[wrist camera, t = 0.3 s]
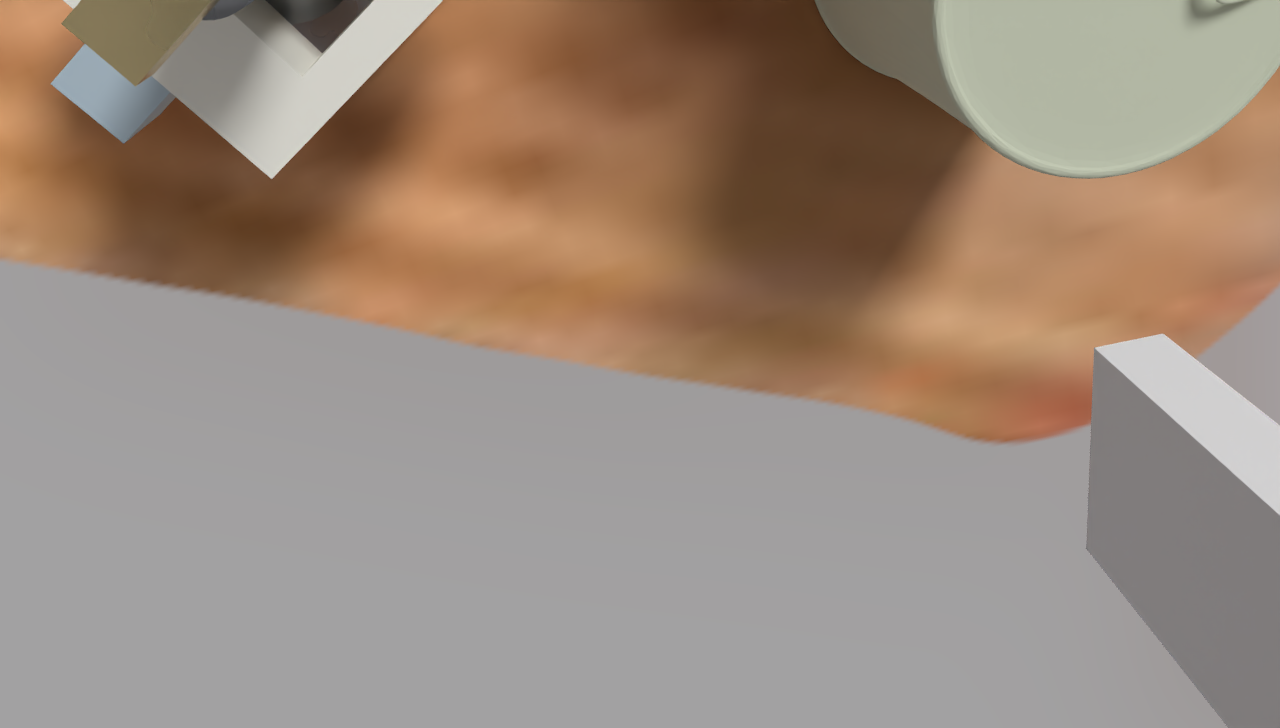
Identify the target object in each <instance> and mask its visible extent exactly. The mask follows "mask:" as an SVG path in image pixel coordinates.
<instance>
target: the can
mask: <svg viewBox="0 0 1280 728" xmlns="http://www.w3.org/2000/svg"><path fill="white" fill-rule="evenodd" d="M815 3H816V6H817V8H818V10H819V13H820V15H821V17H822V19H823V21H824V22H825V24H826V26H827V27H828V29H829V30H830V32H831V33H832V34H833V36H834V37H835V38H836V40H837V41H838V42H839V43H840V44H841V45H842V46H843V47H844V49H845V50H847V51H848V52H849V53H850V54H851V55H852V56H853V57H855V58H856V59H857V60H859V61H860V62H861V63H863V64H864V65H866V66H868V67H870V68H871V69H873V70H875V71H877V72H879V73H882V74H884V75H886V76H889V77H892V78H896V79H898V80H899V81H901V82H903V83H904V84H906V85H907V86H909V87H910V88H912V89H913V90H915V91H916V92H918V93H919V94H921V95H922V96H924V97H925V98H927V99H928V100H930V101H931V102H933V103H934V104H936V105H937V106H939V107H940V108H942V109H943V110H945V111H946V112H947V113H949V114H950V115H952V116H953V117H954V118H956V119H957V120H959V121H960V122H962V123H963V124H964V125H966V126H967V127H969V128H970V129H972V130H973V131H974V132H975V133H976V134H977V135H978V136H979V137H980V138H981V139H982V140H983V141H984V142H985V143H986V144H987V145H989V146H990V147H991V148H992V149H994V150H995V151H996V152H998V153H999V154H1001V155H1002V156H1004V157H1006V158H1008V159H1010V160H1012V161H1013V162H1015V163H1017V164H1019V165H1021V166H1024V167H1026V168H1029V169H1032V170H1035V171H1038V172H1041V173H1045V174H1049V175H1054V176H1060V177H1069V178H1087V179H1090V178H1105V177H1112V176H1118V175H1124V174H1128V173H1132V172H1136V171H1140V170H1143V169H1146V168H1149V167H1152V166H1155V165H1157V164H1160V163H1162V162H1165V161H1167V160H1169V159H1172V158H1174V157H1175V156H1177V155H1179V154H1181V153H1183V152H1185V151H1187V150H1189V149H1191V148H1192V147H1194V146H1196V145H1197V144H1199V143H1200V142H1202V141H1203V140H1205V139H1206V138H1208V137H1209V136H1211V135H1212V134H1214V133H1215V132H1216V131H1218V130H1219V129H1220V128H1222V127H1223V126H1224V125H1225V124H1226V123H1227V122H1229V121H1230V120H1231V119H1232V118H1233V117H1235V116H1236V115H1237V114H1238V113H1239V112H1240V111H1241V110H1242V109H1243V108H1244V107H1245V106H1246V105H1247V104H1248V103H1249V102H1250V101H1251V100H1252V99H1253V98H1254V97H1255V96H1256V95H1257V94H1258V92H1259V91H1260V90H1261V89H1262V87H1263V86H1264V85H1265V84H1266V83H1267V81H1268V80H1269V79H1270V78H1271V76H1272V75H1273V74H1274V73H1275V72H1276V70H1277V69H1278V67H1279V66H1280V0H815Z"/></svg>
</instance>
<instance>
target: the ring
mask: <svg viewBox="0 0 1280 728" xmlns="http://www.w3.org/2000/svg"><path fill="white" fill-rule="evenodd" d="M63 1H65V2H66V3H67V4H68V5H69V6H70V7H72V8H73V9H74V8H75V7H76V6H77V5H78V3H79V2H80V1H81V0H63ZM442 1H443V0H372V1H371V2H370V3H369V4H368V5H367V6H366V7H365V8H364V9H363V11H362V12H361V13H360V14H359V15H358V16H357V17H356V18H355V19H354V20H353V21H352V22H351V23H350V24H349V25H348V27H347V28H346V29H345V30H344V31H343V32H342V33H341V34H340V35H339V36H338V37H337V38H336V39H335V40H334V41H333V43H332V44H331V45H330V46H329V47H328V48H327V49H326V50H325V51H324V52H323V53H321V52H320V51H319V50H318V49H317V48H316V47H315V46H314V45H313V44H312V43H311V42H310V41H308V40H307V39H306V38H305V37H304V36H303V35H302V34H301V33H300V32H299V31H298V30H297V29H296V28H295V27H294V26H292V25H291V24H290V23H289V22H288V21H287V20H286V19H285V18H284V17H283V16H282V15H281V14H280V13H279V12H278V11H276V10H275V9H274V8H273V7H272V6H271V5H270V4H269V3H268V2H267V1H266V0H254V1H253V2H251V3H250V4H248V5H247V6H245V7H244V8H242V9H241V10H239V11H238V12H236V13H234V14H232V15H230V16H228V17H225V18H222V19H217V20H202V21H201V22H200V23H199V24H198V25H197V26H196V27H195V28H194V30H193V31H192V32H191V33H190V34H189V35H188V36H187V37H186V39H185V40H184V41H183V42H182V43H181V44H180V45H179V46H178V48H177V49H176V50H175V51H174V52H173V53H172V54H171V55H170V57H169V58H168V59H167V60H166V61H165V62H164V63H163V64H162V66H161V67H160V68H159V69H158V70H157V71H156V72H155V73H154V74H153V75H152V76H150V77H149V78H147V79H146V80H144V81H143V82H141V83H140V84H138V85H137V86H136V87H135V86H134V85H133V84H132V83H131V82H130V81H128V80H127V79H126V78H125V77H124V76H122V75H121V74H120V73H119V72H118V71H117V70H115V69H114V68H113V67H112V66H111V65H109V64H108V63H107V62H106V61H105V60H104V59H102V58H101V57H100V56H99V55H98V54H96V53H95V52H94V51H93V50H92V49H91V48H89V47H88V46H87V45H86V44H84V45H83V47H82V48H81V49H80V50H79V51H78V52H77V54H76V55H75V56H74V57H73V58H72V59H71V61H70V62H69V63H68V64H67V65H66V66H65V68H64V69H63V70H62V71H61V72H60V73H59V75H58V76H57V77H56V78H55V79H54V80H53V82H52V83H51V85H53V86H54V87H55V88H56V89H58V90H59V91H60V92H61V93H62V94H64V95H65V96H66V97H67V98H69V99H70V100H71V101H72V102H73V103H75V104H76V105H77V106H78V107H80V108H81V109H82V110H83V111H84V112H86V113H87V114H88V115H89V116H91V117H92V118H93V119H94V120H95V121H97V122H98V123H99V124H100V125H102V126H103V127H104V128H105V129H106V130H108V131H109V132H110V133H111V134H113V135H114V136H115V137H116V138H117V139H119V140H120V141H121V142H122V143H125V142H127V141H128V140H129V139H130V138H132V137H133V136H134V135H135V134H137V133H138V132H139V131H140V130H141V129H143V128H144V127H145V126H146V125H148V124H149V123H150V122H151V121H153V120H154V119H155V118H156V117H158V116H159V115H160V114H161V113H162V112H163V111H164V110H165V109H166V107H167V106H168V105H169V104H170V103H171V102H172V101H173V100H174V99H175V97H176V98H178V99H179V100H180V101H181V102H182V103H183V104H185V105H186V106H187V107H188V108H189V109H190V110H192V111H193V112H194V113H195V114H196V115H197V116H199V117H200V118H201V119H202V120H203V121H204V122H206V123H207V124H208V125H209V126H210V127H211V128H213V129H214V130H215V131H216V132H217V133H218V134H220V135H221V136H222V137H223V138H224V139H225V140H227V141H228V142H229V143H230V144H231V145H232V146H234V147H235V148H236V149H237V150H238V151H239V152H241V153H242V154H243V155H244V156H245V157H246V158H248V159H249V160H250V161H251V162H252V163H253V164H255V165H256V166H257V167H258V168H259V169H260V170H262V171H263V172H264V173H265V174H266V175H267V176H269V177H270V178H271V179H272V178H273V177H274V176H275V175H276V174H277V173H278V172H279V171H280V170H281V169H282V168H283V167H284V166H285V165H286V164H287V163H288V162H289V161H290V159H291V158H292V157H293V156H294V155H295V154H296V153H297V152H298V151H299V150H300V149H301V148H302V147H303V146H304V145H305V144H306V143H307V142H308V141H309V140H310V139H311V138H312V137H313V135H314V134H315V133H316V132H317V131H318V130H319V129H320V128H321V127H322V126H323V125H324V124H325V123H326V122H327V121H328V120H329V119H330V118H331V117H332V116H333V115H334V114H335V113H336V111H337V110H338V109H339V108H340V107H341V106H342V105H343V104H344V103H345V102H346V101H347V100H348V99H349V98H350V97H351V96H352V95H353V94H354V93H355V92H356V91H357V90H358V89H359V87H360V86H361V85H362V84H363V83H364V82H365V81H366V80H367V79H368V78H369V77H370V76H371V75H372V74H373V73H374V72H375V71H376V70H377V69H378V68H379V67H380V66H381V65H382V63H383V62H384V61H385V60H386V59H387V58H388V57H389V56H390V55H391V54H392V53H393V52H394V51H395V50H396V49H397V48H398V47H399V46H400V45H401V44H402V43H403V42H404V41H405V39H406V38H407V37H408V36H409V35H410V34H411V33H412V32H413V31H414V30H415V29H416V28H417V27H418V26H419V25H420V24H421V23H422V22H423V21H424V20H425V19H426V18H427V17H428V15H429V14H430V13H431V12H432V11H433V10H434V9H435V8H436V7H437V6H438V5H439V4H440V3H441V2H442Z"/></svg>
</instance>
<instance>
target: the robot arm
mask: <svg viewBox="0 0 1280 728" xmlns="http://www.w3.org/2000/svg"><path fill="white" fill-rule="evenodd" d="M1086 549H1087V550H1088V551H1089V553H1090V554H1091V555H1092V556H1093V558H1094V559H1095V560H1096V561H1097V563H1098V564H1099V565H1100V566H1101V568H1102V569H1103V570H1104V571H1105V573H1106V574H1107V575H1108V577H1109V578H1110V579H1111V580H1112V582H1113V583H1114V584H1115V585H1116V587H1117V588H1118V589H1119V590H1120V592H1121V593H1122V594H1123V595H1124V597H1125V598H1126V599H1127V601H1128V602H1129V603H1130V604H1131V606H1132V607H1133V608H1134V609H1135V610H1136V612H1137V613H1138V614H1139V616H1140V617H1141V618H1142V619H1143V621H1144V622H1145V623H1146V625H1147V626H1148V627H1149V628H1150V629H1151V631H1152V632H1153V633H1154V635H1155V636H1156V637H1157V638H1158V640H1159V641H1160V642H1161V643H1162V645H1163V646H1164V647H1165V648H1166V650H1167V651H1168V652H1169V654H1170V655H1171V656H1172V657H1173V659H1174V660H1175V661H1176V662H1177V664H1178V665H1179V666H1180V667H1181V669H1182V670H1183V671H1184V672H1185V674H1186V675H1187V676H1188V677H1189V679H1190V680H1191V681H1192V683H1193V684H1194V685H1195V686H1196V688H1197V689H1198V690H1199V691H1200V693H1201V694H1202V695H1203V696H1204V698H1205V699H1206V700H1207V701H1208V703H1209V704H1210V705H1211V706H1212V708H1213V709H1214V710H1215V711H1216V713H1217V714H1218V715H1219V716H1220V718H1221V719H1222V720H1223V722H1224V723H1225V724H1226V725H1227V727H1228V728H1280V425H1278V424H1277V423H1276V422H1275V421H1273V420H1272V419H1271V418H1270V417H1268V416H1267V415H1266V414H1264V413H1263V412H1262V411H1261V410H1259V409H1258V408H1257V407H1255V406H1254V405H1253V404H1252V403H1250V402H1249V401H1248V400H1247V399H1245V398H1244V397H1243V396H1242V395H1240V394H1239V393H1238V392H1236V391H1235V390H1234V389H1233V388H1231V387H1230V386H1229V385H1227V384H1226V383H1225V382H1224V381H1222V380H1221V379H1220V378H1219V377H1217V376H1216V375H1215V374H1214V373H1212V372H1211V371H1210V370H1209V369H1207V368H1206V367H1205V366H1203V365H1202V364H1201V363H1200V362H1198V361H1197V360H1196V359H1195V358H1193V357H1192V356H1191V355H1189V354H1188V353H1187V352H1186V351H1184V350H1183V349H1182V348H1181V347H1179V346H1178V345H1177V344H1176V343H1174V342H1173V341H1172V340H1170V339H1169V338H1168V337H1167V336H1165V335H1164V334H1159V335H1154V336H1150V337H1145V338H1140V339H1135V340H1130V341H1125V342H1120V343H1115V344H1111V345H1106V346H1101V347H1096V348H1094V367H1093V392H1092V417H1091V445H1090V469H1089V493H1088V519H1087V544H1086Z"/></svg>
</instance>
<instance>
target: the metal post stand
mask: <svg viewBox="0 0 1280 728" xmlns="http://www.w3.org/2000/svg"><path fill="white" fill-rule="evenodd" d="M253 1H254V0H81V1H80V2H79V3H78V5H77V6H76V7H75V8H74V9H73V10H72V12H71V13H70V14H69V15H68V16H67V18H66V19H65V20H64V21H63V22H62V23H61V24H62V25H63V26H65V27H66V28H67V29H68V30H69V31H70V32H72V33H73V34H74V35H75V36H76V37H78V38H79V39H80V40H81V41H82V42H83V43H85V44H86V45H87V46H88V47H89V48H91V49H92V50H93V51H94V52H95V53H96V54H98V55H99V56H100V57H101V58H102V59H104V60H105V61H106V62H107V63H108V64H109V65H111V66H112V67H113V68H114V69H115V70H117V71H118V72H119V73H120V74H121V75H122V76H124V77H125V78H126V79H127V80H128V81H130V82H131V83H132V84H133V85H134V86H135V87H136V86H137V85H138V84H140V83H141V82H143V81H144V80H146V79H147V78H149V77H150V76H152V75H153V74H154V73H155V72H156V71H157V70H158V69H159V68H160V67H161V66H162V64H163V63H164V62H165V61H166V60H167V59H168V58H169V57H170V55H171V54H172V53H173V52H174V51H175V50H176V49H177V48H178V46H179V45H180V44H181V43H182V42H183V41H184V40H185V39H186V37H187V36H188V35H189V34H190V33H191V32H192V31H193V30H194V28H195V27H196V26H197V25H198V24H199V23H200V22H201V21H202V20H217V19H222V18H225V17H228V16H230V15H232V14H234V13H236V12H238V11H239V10H241V9H242V8H244V7H245V6H247V5H248V4H250V3H251V2H253ZM266 1H267V2H268V3H269V4H270V5H271V6H272V7H273V8H274V9H275V10H276V11H278V12H279V13H280V14H281V15H282V16H283V17H284V18H285V19H286V20H287V21H288V22H289V23H290V24H291V25H292V26H294V27H295V28H296V29H297V30H298V31H299V32H300V33H301V34H302V35H303V36H304V37H305V38H306V39H307V40H308V41H310V42H311V43H312V44H313V45H314V46H315V47H316V48H317V49H318V50H319V51H320V52H321V53H323V52H324V51H325V50H326V49H327V48H328V47H329V46H330V45H331V44H332V43H333V41H334V40H335V39H336V38H337V37H338V36H339V35H340V34H341V33H342V32H343V31H344V30H345V29H346V28H347V27H348V25H349V24H350V23H351V22H352V21H353V20H354V19H355V18H356V17H357V16H358V15H359V14H360V13H361V12H362V11H363V9H364V8H365V7H366V6H367V5H368V4H369V3H370V2H371V1H372V0H266Z"/></svg>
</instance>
